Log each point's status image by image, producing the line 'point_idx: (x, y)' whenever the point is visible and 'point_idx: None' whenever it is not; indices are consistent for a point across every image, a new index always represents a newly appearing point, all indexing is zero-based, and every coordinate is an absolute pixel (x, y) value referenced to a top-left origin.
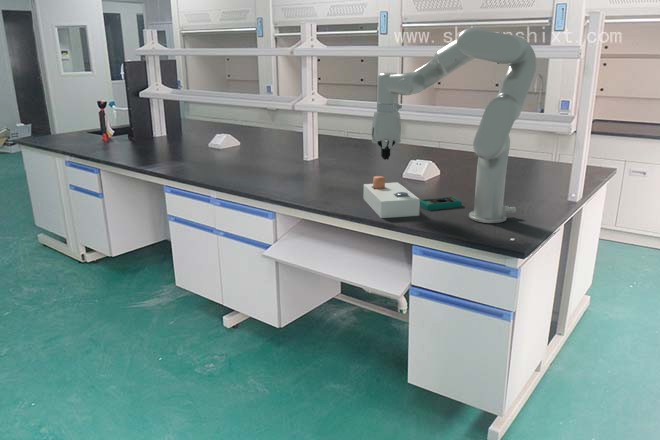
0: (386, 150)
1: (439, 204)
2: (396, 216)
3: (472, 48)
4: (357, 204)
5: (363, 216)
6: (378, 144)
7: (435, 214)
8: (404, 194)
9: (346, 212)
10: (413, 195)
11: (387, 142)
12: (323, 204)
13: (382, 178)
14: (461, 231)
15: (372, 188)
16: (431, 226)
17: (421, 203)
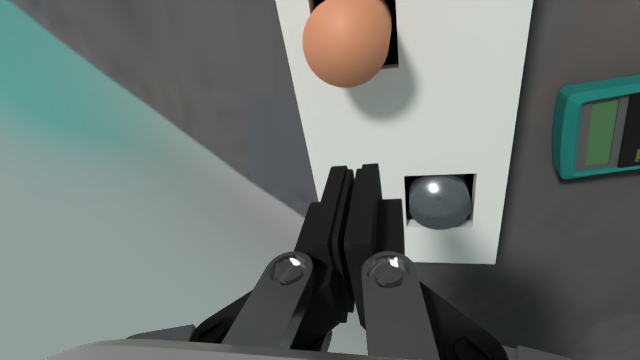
0: (351, 303)
1: (634, 168)
2: None
3: None
4: (261, 40)
5: (287, 194)
6: (231, 317)
7: (553, 216)
8: (446, 220)
9: (229, 147)
10: (494, 213)
11: (370, 337)
12: (120, 27)
13: (363, 83)
14: (535, 340)
15: None
16: (471, 300)
17: (560, 123)
